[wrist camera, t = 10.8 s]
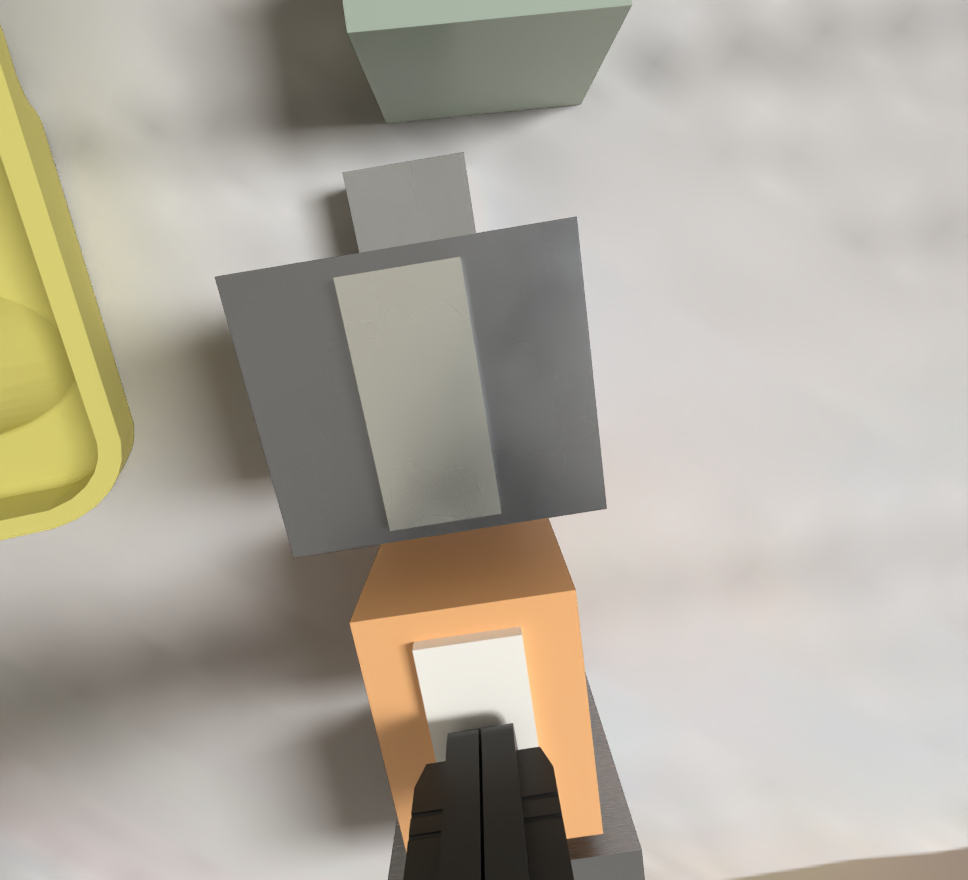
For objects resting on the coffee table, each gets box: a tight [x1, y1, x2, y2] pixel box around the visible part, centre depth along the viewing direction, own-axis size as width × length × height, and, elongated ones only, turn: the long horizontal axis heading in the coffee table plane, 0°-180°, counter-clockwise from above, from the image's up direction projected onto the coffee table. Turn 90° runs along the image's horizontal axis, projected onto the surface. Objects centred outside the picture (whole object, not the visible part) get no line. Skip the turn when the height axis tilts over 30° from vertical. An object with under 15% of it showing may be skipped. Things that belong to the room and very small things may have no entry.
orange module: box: [350, 518, 603, 853], centre depth 14 cm, size 7×5×6 cm
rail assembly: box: [215, 152, 645, 880], centre depth 15 cm, size 26×7×7 cm, turn 9°
